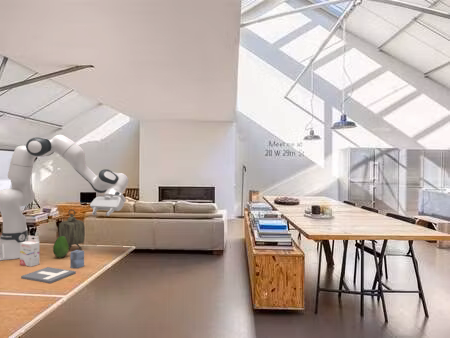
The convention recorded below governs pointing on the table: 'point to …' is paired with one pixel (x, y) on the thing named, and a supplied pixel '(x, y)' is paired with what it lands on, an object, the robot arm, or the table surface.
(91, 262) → the table surface
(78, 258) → the slate-blue block
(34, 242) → the ink cartridge box
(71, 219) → the olive bag
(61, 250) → the fruit
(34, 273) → the letter board
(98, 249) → the table surface
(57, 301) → the table surface
